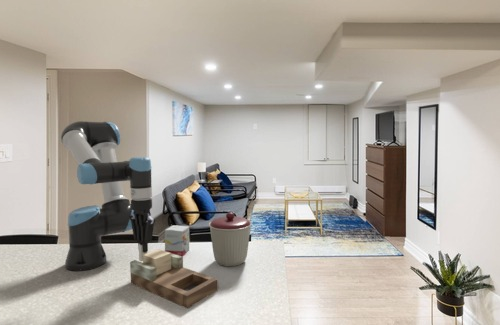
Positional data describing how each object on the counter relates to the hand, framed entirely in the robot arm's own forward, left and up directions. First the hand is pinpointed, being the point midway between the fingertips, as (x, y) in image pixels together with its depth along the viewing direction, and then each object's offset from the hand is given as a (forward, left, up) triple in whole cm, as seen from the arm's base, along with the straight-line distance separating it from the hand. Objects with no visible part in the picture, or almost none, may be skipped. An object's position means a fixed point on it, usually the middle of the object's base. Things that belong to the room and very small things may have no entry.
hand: (143, 259), depth 118 cm
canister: (+19, +29, -6) cm, 35 cm away
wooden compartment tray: (+17, 0, -6) cm, 18 cm away
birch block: (+8, 0, -2) cm, 8 cm away
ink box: (-7, +23, -6) cm, 25 cm away
